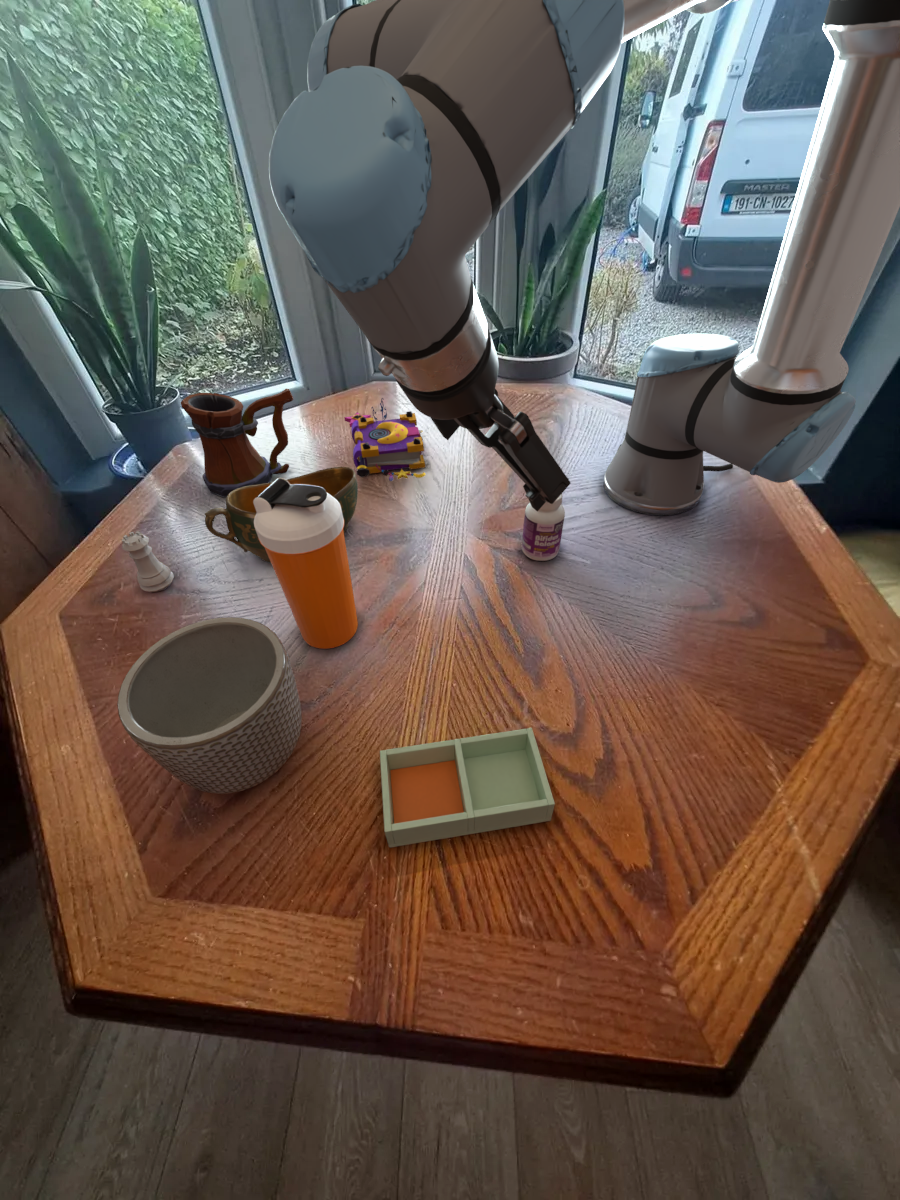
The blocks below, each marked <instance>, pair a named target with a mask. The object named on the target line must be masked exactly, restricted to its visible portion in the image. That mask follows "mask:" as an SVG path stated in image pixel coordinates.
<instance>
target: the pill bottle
mask: <svg viewBox="0 0 900 1200" xmlns="http://www.w3.org/2000/svg"><path fill="white" fill-rule="evenodd" d="M562 503H563V493H562V494H561V495H560V496H559V497H558V498H557V499H556V501H555V502H554V503H553V504H550V503H548V502H545V504H544V505H543V506H542V507H541V508H540V509H539V510H538V512H537V511H536V510H535V509H534V508H532V506H531V504H530V502H529V503H528V504H527V505H526V507H525V510H524V519H523V529H522V539H521V550H522V552H523V555H525V556H526V557H527V558H528V559H530V560H533V561H538V562H539V561H540V562H541V561H542V562H544V561H545V562H546V561H549V560H552V559H554V558H555V557H556V556H557V555H558V554H559V551H560V547H561V541H562V535H563V530H564V529H563V528H564V524H565V523H564V522H565V517H566V510H565V507H564V505H563V504H562Z"/></svg>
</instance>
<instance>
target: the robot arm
mask: <svg viewBox="0 0 900 1200" xmlns="http://www.w3.org/2000/svg"><path fill="white" fill-rule="evenodd" d="M738 1H739V0H373V1H370V2H368V3H365V4H362V3H355V4H351V5H349V6H347V7H344V8H343V9H341V10H340V11H338V12H337V13H336V14H334V15H332V16H331V17H329V18H328V19H327V20H325V21H324V22H323V24H322V25H321V26H320V27H319V28H318V30H317V32H316V34H315V35H314V38H313V40H312V42H311V45H310V49H309V53H308V57H307V69H306V73H307V74H306V78H307V88H308V90H302V91H301V92H300V93H298V95H297V96H296V97H295V98H294V100H293V101H292V102H291V104H290V105H289V106H288V108H287V109H286V110H285V112H284V113H283V115H282V117H281V118H280V120H279V123H278V124H277V127H276V129H275V131H274V133H273V137H272V141H271V146H270V149H269V155H268V177H269V184H270V190H271V192H272V196H273V198H274V201H275V203H276V206H277V207H278V208H277V209H278V210H279V212H280V213H281V215H282V217H283V219H284V220H285V222H286V224H287V226H288V228H289V230H290V231H291V233H292V235H293V236H294V237H295V239H296V241H297V242H298V244H299V246H300V247H301V249H302V251H303V252H304V253H305V256H306V258H307V260H308V262H309V264H310V266H311V268H312V269H313V271H314V272H315V273H316V274H317V275H318V276H319V277H321V278H322V279H323V281H324V282H325V283H326V284H327V286H328V288H329V289H330V290H331V291H332V292H333V294H334V295H335V296H336V298H337V299H338V301H339V302H340V303H341V305H342V306H343V307H344V308H345V310H346V311H347V312H348V314H349V316H350V317H351V318H352V319H353V321H354V323H355V324H356V325H357V326H358V329H360V330H361V332H362V334H364V337H365V338H366V339H367V341H368V342H369V343H370V346H372V348H373V350H374V351H375V352H376V353H377V354H378V355H379V357H380V359H381V361H380V362H379V364H378V366H377V370H378V371H379V372H380V373H381V375H383V376H385V377H389V376H391V375H392V376H393V377H394V379H395V382H396V383H397V385H398V386H399V387H400V389H401V391H402V392H403V393H404V395H405V396H406V397H407V399H408V400H409V401H410V403H411V404H412V405H413V407H414V408H415V409H416V410H417V411H418V412H419V413H420V414H422V415H424V416H427V417H429V418H430V420H431V421H432V423H433V424H434V425H435V427H436V428H437V430H438V431H439V432H440V434H441V436H442V437H443V438H444V439H445V440H447V441H449V439H451V438H452V436H453V435H454V434H455V432H457V430H458V429H459V428H464V429H466V430H467V431H468V432H469V433H470V434H471V435H472V436H473V437H474V439H476V440H477V441H478V443H479V444H480V445H482V446H484V447H486V448H490V449H491V448H492V449H493V450H494V452H495V453H496V454H497V455H498V456H499V457H500V458H501V459H502V460H503V461H504V462H505V464H507V465H508V466H509V468H510V469H512V471H513V472H514V473H515V474H516V475H517V477H518V478H519V479H520V480H521V481H522V482H523V483H524V484H523V485H522V487H523V490H524V492H525V497H526V498H527V499H528V501H529V503H530V504H531V506H532V508H534V509H535V510H536V511H537V512H538V510H539V509H540V508H541V507H542V506H543V505H544V504H545V502H548V503H550V504H553V503H554V502H555V501H556V499H557V498H558V497H559V496H560V495H561V494H562V495H563V493H564V492H565V491H566V489H568V488H569V486H570V485H571V481H570V479H569V478H568V477H567V475H566V474H565V472H564V471H563V469H562V468H561V466H560V465H559V464H558V463H557V461H556V459H555V458H554V456H553V455H552V453H551V452H550V451H549V449H548V448H547V447H546V445H545V443H544V442H543V440H542V439H541V438H540V436H539V435H538V433H537V432H536V430H535V427H534V425H533V422H532V420H531V419H530V416H529V415H528V414H527V413H525V412H523V411H519V412H517V414H516V415H514V413H512V411H511V410H510V409H509V408H508V407H507V406H506V404H505V403H504V401H502V399H501V398H500V397H499V392H498V390H497V389H496V386H497V382H498V377H499V371H500V370H499V369H500V368H499V366H500V365H499V364H500V363H499V357H498V353H497V350H496V347H495V344H494V341H493V337H492V335H491V332H490V329H489V327H488V321H487V318H486V316H485V313H484V310H483V307H482V304H481V301H480V299H479V295H478V292H477V290H476V287H475V285H474V282H473V278H472V275H471V271H470V268H469V263H468V261H467V258H466V255H467V253H468V252H469V250H470V249H471V248H472V247H473V245H474V244H476V242H477V241H478V239H480V237H481V236H482V234H484V232H485V231H486V230H487V229H488V227H489V225H491V224H492V222H493V221H494V220H495V219H496V218H497V216H498V215H499V212H500V211H501V210H502V209H503V208H504V207H505V206H506V205H507V203H509V201H510V200H511V199H512V198H513V196H514V195H515V194H516V193H517V192H518V190H519V189H521V187H522V186H523V185H524V184H525V182H526V181H527V180H528V179H529V177H531V175H532V174H533V173H534V172H535V171H536V169H537V168H538V167H539V166H540V165H541V164H542V163H543V161H544V160H545V159H546V158H547V157H548V155H549V154H550V153H551V152H552V151H553V150H554V148H555V147H557V145H558V144H559V143H560V142H561V140H562V139H563V138H564V137H565V136H566V134H568V132H570V130H573V128H574V127H576V126H577V124H578V123H579V121H580V118H581V114H582V113H583V111H584V110H585V108H586V107H587V106H588V105H589V103H590V101H591V100H592V99H593V98H594V96H595V95H596V93H597V92H598V90H599V89H600V88H601V86H602V85H603V84H604V82H606V79H607V78H608V77H609V76H610V74H611V73H612V71H613V68H614V66H615V64H616V63H617V60H618V58H619V55H620V52H621V47H622V44H623V43H624V42H626V41H628V40H630V39H632V38H633V37H636V36H638V35H640V34H641V33H643V32H645V31H647V30H649V29H651V28H653V27H655V26H657V25H658V24H661V23H662V22H664V21H666V20H668V19H669V18H671V17H673V16H675V15H677V14H679V13H681V12H683V11H687V12H690V13H692V14H693V15H694V14H695V15H707V14H710V13H713V12H716V11H718V10H720V9H721V8H724V7H725V6H727V5H729V4H731V3H734V2H738ZM828 1H829V2H828V6H827V9H826V13H825V17H824V21H823V25H822V31H823V32H824V34H825V36H826V38H827V39H828V41H829V42H830V44H831V46H832V48H833V51H834V60H833V64H832V67H831V71H830V74H829V76H828V77H829V78H828V81H827V84H826V88H825V91H824V96H823V99H822V102H821V106H820V110H819V113H818V116H817V120H816V123H815V127H814V131H813V134H812V138H811V141H810V145H809V147H808V151H807V155H806V159H805V162H804V165H803V169H802V172H801V176H800V179H799V183H798V187H797V190H796V193H795V197H794V200H793V204H792V208H791V211H790V215H789V218H788V220H787V221H788V222H787V225H786V229H785V233H784V236H783V238H782V239H783V240H782V242H781V246H780V250H779V253H778V257H777V261H776V264H775V267H774V271H773V273H772V278H771V280H770V281H771V282H770V284H769V288H768V292H767V295H766V299H765V302H764V306H763V309H762V313H761V316H760V319H759V323H758V327H757V331H756V334H755V338H754V341H753V344H752V346H750V347H749V348H748V349H746V350H744V351H743V352H742V353H740V354H739V352H740V349H739V346H740V343H739V342H738V341H737V340H736V339H735V338H733V337H731V336H728V335H723V334H717V333H682V334H675V335H670V336H665V337H662V338H659V339H657V340H655V341H653V342H652V343H650V345H649V346H647V348H646V349H645V351H644V353H643V357H642V359H641V363H640V367H639V368H638V369H639V370H638V372H637V373H636V377H637V378H636V383H635V387H634V392H633V397H632V402H631V406H630V407H631V408H630V411H629V416H628V420H627V426H626V431H625V434H624V439H623V441H622V443H621V444H620V445H619V446H618V448H617V451H616V453H615V455H614V457H613V458H612V460H611V462H610V463H609V464H608V466H607V469H606V471H605V473H604V478H603V483H602V485H603V490H604V492H605V494H606V495H607V497H609V498H610V499H611V500H612V501H613V502H615V503H616V504H618V505H619V506H621V507H623V508H626V509H628V510H630V511H633V512H636V513H640V514H644V515H652V516H672V515H673V516H674V515H678V514H683V513H685V512H688V511H691V510H692V509H693V508H695V507H696V506H697V505H698V504H699V502H700V500H701V499H702V495H703V491H704V485H705V478H704V473H705V472H725V471H729V470H732V469H733V468H734V466H735V467H737V468H740V469H741V470H743V471H745V472H748V473H749V475H751V476H758V477H760V478H763V479H765V480H767V481H770V482H772V483H778V484H779V483H780V484H782V483H786V482H787V483H788V482H789V481H792V480H794V479H795V478H797V477H800V476H801V475H802V474H803V473H805V472H806V471H807V470H808V469H809V468H810V467H812V465H813V464H815V462H817V461H818V459H819V458H821V457H822V455H823V454H824V453H825V452H826V451H827V450H828V449H829V448H830V447H831V445H832V444H833V443H834V442H835V440H836V439H837V438H838V436H839V435H840V434H841V433H842V431H843V430H844V428H845V427H846V425H847V424H848V422H849V421H850V419H851V417H852V415H853V414H854V411H855V409H856V403H857V400H856V398H855V396H853V395H852V394H851V392H850V393H849V391H842V388H843V385H844V383H845V381H846V378H847V376H848V374H849V365H848V364H849V363H848V362H847V360H845V358H844V357H843V355H842V354H841V351H842V348H843V345H844V343H845V341H846V338H847V337H848V333H849V332H850V329H851V326H852V323H853V321H854V319H855V316H856V314H857V312H858V309H859V307H860V304H861V302H862V300H863V297H864V296H865V295H864V294H865V292H866V291H867V287H868V285H869V283H870V280H871V278H872V275H873V273H874V271H875V268H876V266H877V264H878V261H879V258H880V256H881V253H882V251H883V250H884V249H883V248H884V246H885V243H886V241H887V239H888V236H889V234H890V231H891V229H892V227H893V224H894V222H895V219H896V217H897V215H898V212H899V210H900V0H828ZM483 429H488V430H487V432H486V433H483V432H482V431H481V430H483ZM704 453H706V454H709V455H711V456H713V457H715V458H718V459H720V460H723V461H725V462H727V464H724V465H704Z"/></svg>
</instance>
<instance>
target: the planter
mask: <svg viewBox="0 0 900 1200" xmlns="http://www.w3.org/2000/svg"><path fill="white" fill-rule="evenodd" d="M290 660H291V659H290V657H289V655H288V652H287V650H286V648H285V646H284V644H283V642H282V640H281V639H280V637H279V636H278V635H277V634H276V633H275V632H274V631H273V630H272V629H271V628H270V627H269V626H267V625H265V624H263V623H261V622H259V621H256V620H253V619H249V618H244V617H237V616H234V617H233V616H225V617H215V618H208V619H205V620H200V621H197V622H193V623H191V624H189V625H186V626H183V627H181V628H179V629H176V630H175V631H172V632H171V633H169V634H167V635H165V636H164V637H162V638H161V639H160V640H158V641H157V642H155V643H154V644H153V645H151V646H150V647H149V648H147V650H145V652H143V653H142V654H141V655H140V656H139V658H138V659H137V660H136V661H135V662H134V663H133V664H132V666H131V667H130V668H129V670H128V671H127V672H126V674H125V677H124V679H123V681H122V683H121V684H120V687H119V691H118V695H117V705H116V706H117V714H118V717H119V720H120V722H121V726H122V727H123V729H124V731H125V732H126V733H127V735H128V736H129V737H130V738H131V740H132V741H133V742H134V743H135V744H136V745H137V746H138V747H140V749H141V750H143V751H144V752H145V753H146V754H147V755H148V756H149V757H150V758H151V759H152V760H153V761H155V763H156V764H158V765H159V766H161V767H162V768H163V769H164V770H165V771H166V772H167V773H169V774H170V775H172V776H173V777H174V778H175V779H177V780H178V781H179V782H181V783H183V784H184V785H186V786H188V787H190V788H192V789H194V790H197V791H200V792H203V793H208V794H218V795H224V794H226V795H227V794H235V793H239V792H242V791H246V790H248V789H251V788H254V787H256V786H257V785H260V784H262V783H263V782H265V781H266V780H267V779H269V778H271V777H272V776H273V775H275V774H276V773H277V772H278V771H279V770H280V769H281V768H283V766H284V765H285V764H286V762H288V760H289V758H290V757H291V756H292V754H293V752H294V751H295V749H296V747H297V744H298V741H299V738H300V735H301V730H302V723H303V721H302V720H303V719H302V718H303V716H302V715H303V714H302V706H301V700H300V695H299V690H298V686H297V682H296V678H295V675H294V671H293V667H292V664H291V661H290Z"/></svg>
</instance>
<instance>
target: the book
mask: <svg viewBox="0 0 900 1200" xmlns="http://www.w3.org/2000/svg"><path fill="white" fill-rule="evenodd" d="M384 400H385V399H384V398H383V397H381V400H380V403H379V405H380V408H381V409H380V412H381V416H382V419H381V420H378V417H376V416H375V414H377V411H375V408H374V406H371V409H370V410H372V415H371V414H361V413H359V412H358V411H357V412H355V414H354V415H352V416H351V415H350V416H344V418H343V419H344V422H346V423H349V428H350V431H351V439H352V441H353V443H354V444H355V446H354V447H353V450H352V457H353V464H354V467H355V468H356V476H359V477H360V478H367V477H368V476H370V475H371V474H377V473H383V474H382V475H384V476H386V477H387V476H388V475H389V477H388V480H389V482H393V481H394V479H395V478H394V476H396V477H397V480H400V479H402V478H404V479H407V480H408V479H409V476H412V477H414V478H417V479H420V478H425V476H426V475H427V474H426V472H424V471H423V472H422V473H416V472H414V473H411V470H415V469H416V470H417V469H425V468H426V462H425V458H424V454H422V452H424V451H425V445H424V440H423V439H424V438H423V437H422V435H421V434H422V433H423V430H419V427H418V422H417V416H416V413H415V412H412V411H406V413H402V414H401V413H400V414H399V418H394V419H393V418H392V419H387V416H388V413H387V412H386V411H387V408H386V407H384ZM384 411H385V412H384ZM372 416H373V417H372ZM407 468H409V470H408V471H406V470H405V471H404V470H403V469H407ZM391 470H400V471H397V472H390V471H391Z"/></svg>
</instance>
